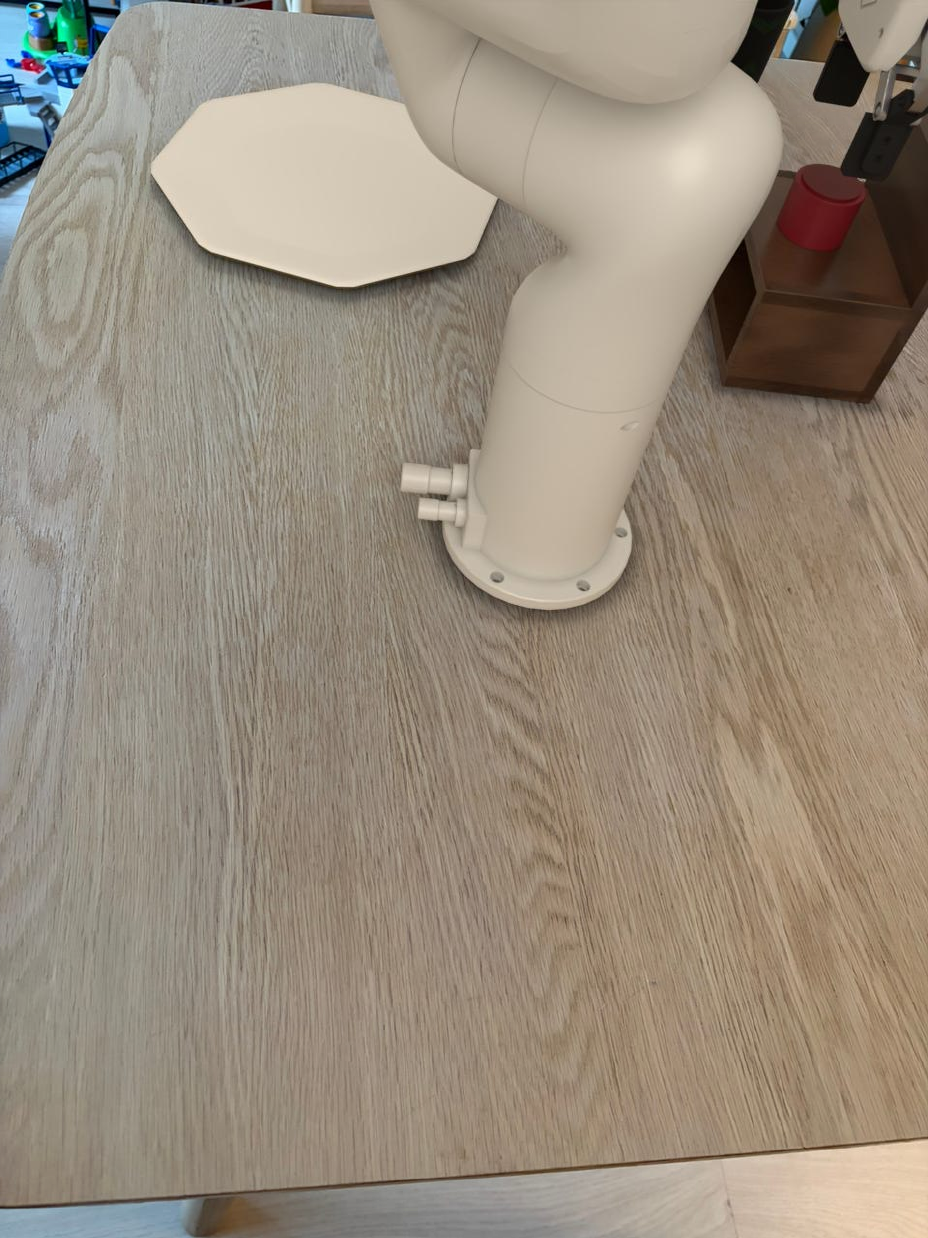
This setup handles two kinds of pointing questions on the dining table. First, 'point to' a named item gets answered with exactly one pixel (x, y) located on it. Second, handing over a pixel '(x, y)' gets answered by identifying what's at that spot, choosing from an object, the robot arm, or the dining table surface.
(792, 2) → the cup
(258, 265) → the plate
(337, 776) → the dining table surface
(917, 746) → the dining table surface
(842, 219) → the cap
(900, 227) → the shelf
